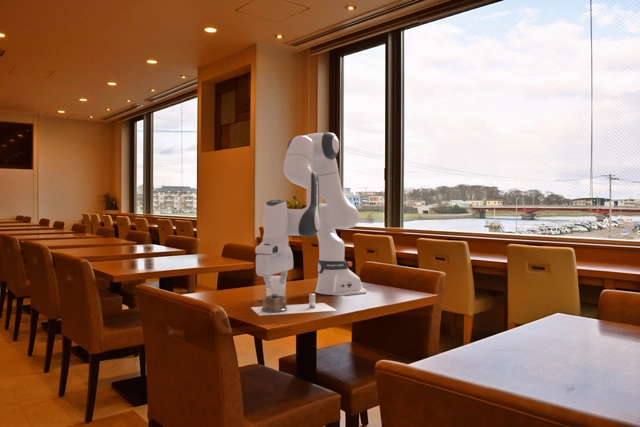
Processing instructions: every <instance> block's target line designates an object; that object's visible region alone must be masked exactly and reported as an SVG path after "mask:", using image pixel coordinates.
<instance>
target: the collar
mask: <svg viewBox="0 0 640 427" xmlns="http://www.w3.org/2000/svg"><path fill="white" fill-rule="evenodd" d="M271 296H272V295H269V296H267V295H266V296H263V297H262V307H263V309H267V310H276V311H278V310H281V309H284V308H286V305H287V295H285V296H278V295H277V296H278V297H279V298H269V297H271Z"/></svg>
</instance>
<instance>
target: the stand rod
mask: <svg viewBox="0 0 640 427" xmlns="http://www.w3.org/2000/svg"><path fill="white" fill-rule="evenodd" d="M308 297H309V298H308V304H309V308H315V304H316V293H309V294H308Z"/></svg>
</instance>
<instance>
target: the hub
mask: <svg viewBox="0 0 640 427" xmlns="http://www.w3.org/2000/svg"><path fill="white" fill-rule="evenodd" d="M269 298H279V297H278V296H277V294H272V296H271V297H269ZM261 307H262V308H261V310H262V311H263V312H268V313H279V312H285V311H287V307H286V308H284V309H281V310H278V311H276V310H267V309H263V306H261Z"/></svg>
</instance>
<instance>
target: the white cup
mask: <svg viewBox="0 0 640 427" xmlns="http://www.w3.org/2000/svg"><path fill="white" fill-rule="evenodd" d="M280 278H281V275H271V278H270V281H271V283H272V287H271V288H266V287H265V289H266V296H269V295H272V294H277V295H278V296H286V287H287V286H286V285H287V282H286V283H284V284H280V283H279V279H280Z"/></svg>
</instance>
